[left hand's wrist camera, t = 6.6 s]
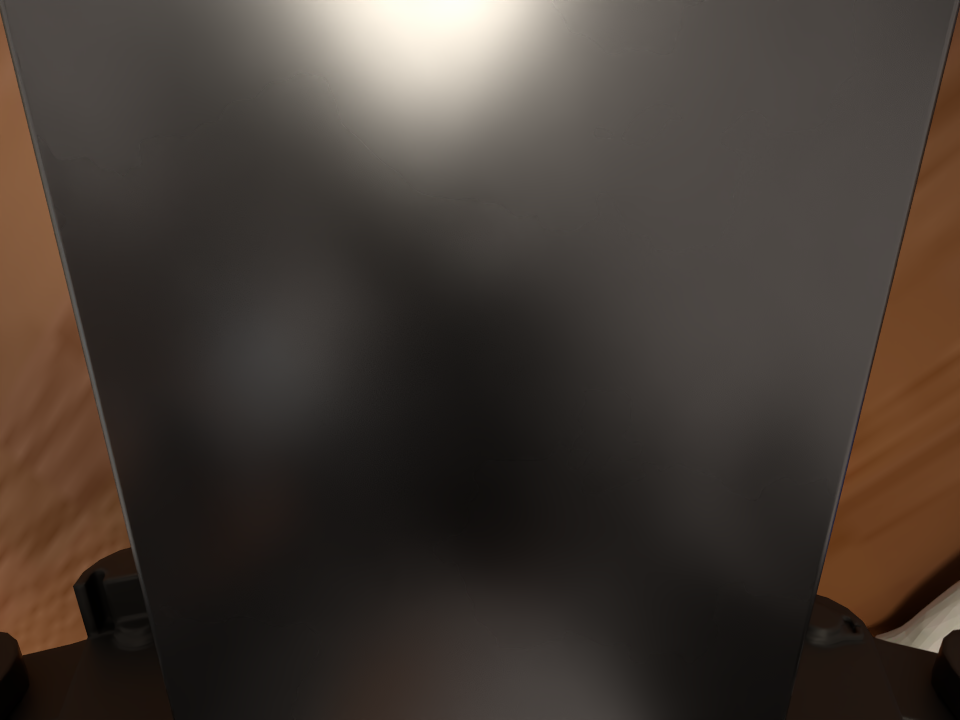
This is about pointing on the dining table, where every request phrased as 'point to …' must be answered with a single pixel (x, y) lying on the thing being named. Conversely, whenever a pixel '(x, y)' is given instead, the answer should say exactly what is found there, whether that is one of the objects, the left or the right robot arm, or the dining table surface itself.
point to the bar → (479, 333)
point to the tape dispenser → (930, 623)
